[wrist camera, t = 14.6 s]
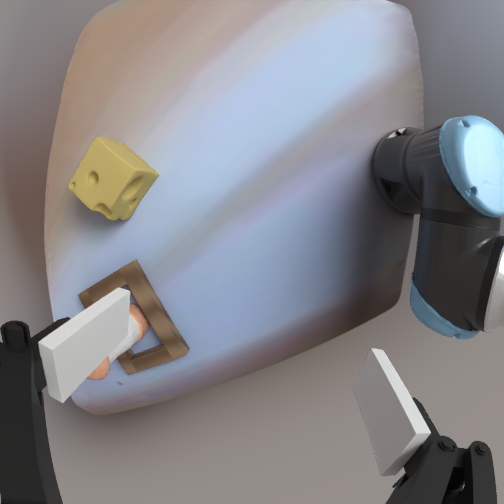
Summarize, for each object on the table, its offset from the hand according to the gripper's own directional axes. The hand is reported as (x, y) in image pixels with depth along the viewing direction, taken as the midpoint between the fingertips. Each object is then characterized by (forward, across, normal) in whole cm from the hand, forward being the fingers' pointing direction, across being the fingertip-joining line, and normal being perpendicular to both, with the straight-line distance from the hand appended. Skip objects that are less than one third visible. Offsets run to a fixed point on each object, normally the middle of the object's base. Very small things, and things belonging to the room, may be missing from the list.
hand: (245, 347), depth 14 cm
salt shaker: (+35, -22, -22) cm, 47 cm away
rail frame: (+35, -22, -22) cm, 47 cm away
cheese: (+35, -27, +5) cm, 44 cm away
